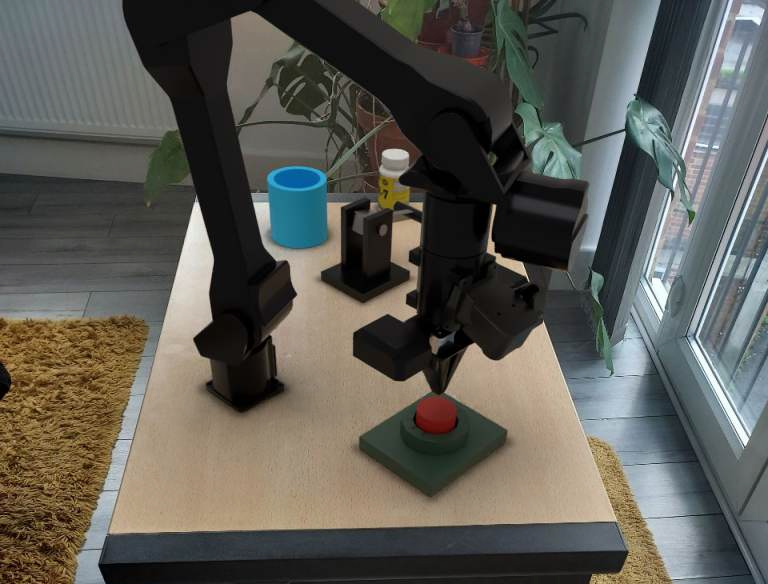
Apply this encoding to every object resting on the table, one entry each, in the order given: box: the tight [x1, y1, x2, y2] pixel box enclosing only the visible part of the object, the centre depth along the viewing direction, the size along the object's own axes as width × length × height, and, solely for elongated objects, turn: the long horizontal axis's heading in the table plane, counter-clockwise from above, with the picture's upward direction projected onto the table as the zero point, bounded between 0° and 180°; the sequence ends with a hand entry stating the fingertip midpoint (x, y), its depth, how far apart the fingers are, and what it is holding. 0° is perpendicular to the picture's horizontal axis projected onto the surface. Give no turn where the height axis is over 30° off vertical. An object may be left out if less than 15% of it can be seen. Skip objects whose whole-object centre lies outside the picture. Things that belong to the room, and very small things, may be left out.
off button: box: [416, 397, 457, 435], centre depth 79 cm, size 4×4×2 cm
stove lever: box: [352, 201, 422, 235], centre depth 103 cm, size 11×6×2 cm, turn 136°
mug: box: [266, 165, 329, 249], centre depth 112 cm, size 12×8×8 cm
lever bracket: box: [320, 196, 411, 303], centre depth 102 cm, size 9×8×10 cm
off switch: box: [358, 390, 509, 498], centre depth 81 cm, size 12×10×4 cm
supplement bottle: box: [377, 148, 411, 212], centre depth 118 cm, size 5×5×8 cm
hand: (438, 392), depth 77 cm, fingers closed
